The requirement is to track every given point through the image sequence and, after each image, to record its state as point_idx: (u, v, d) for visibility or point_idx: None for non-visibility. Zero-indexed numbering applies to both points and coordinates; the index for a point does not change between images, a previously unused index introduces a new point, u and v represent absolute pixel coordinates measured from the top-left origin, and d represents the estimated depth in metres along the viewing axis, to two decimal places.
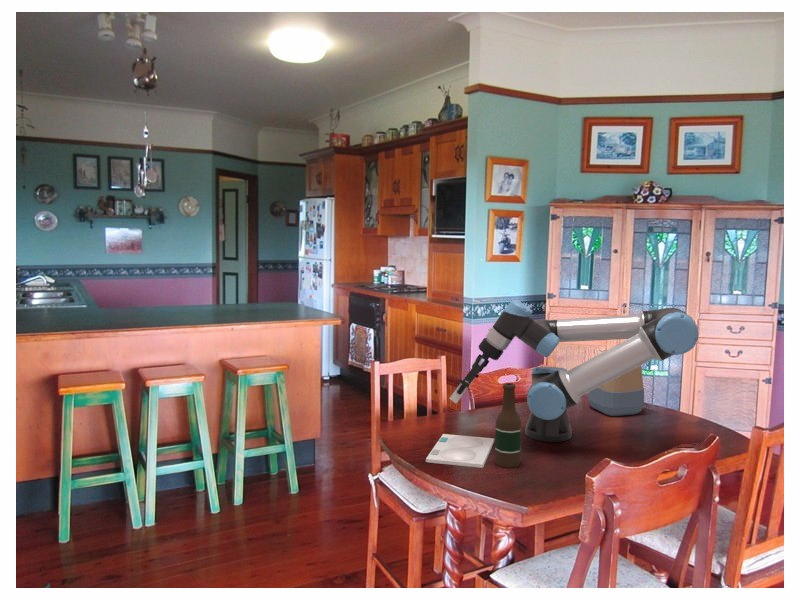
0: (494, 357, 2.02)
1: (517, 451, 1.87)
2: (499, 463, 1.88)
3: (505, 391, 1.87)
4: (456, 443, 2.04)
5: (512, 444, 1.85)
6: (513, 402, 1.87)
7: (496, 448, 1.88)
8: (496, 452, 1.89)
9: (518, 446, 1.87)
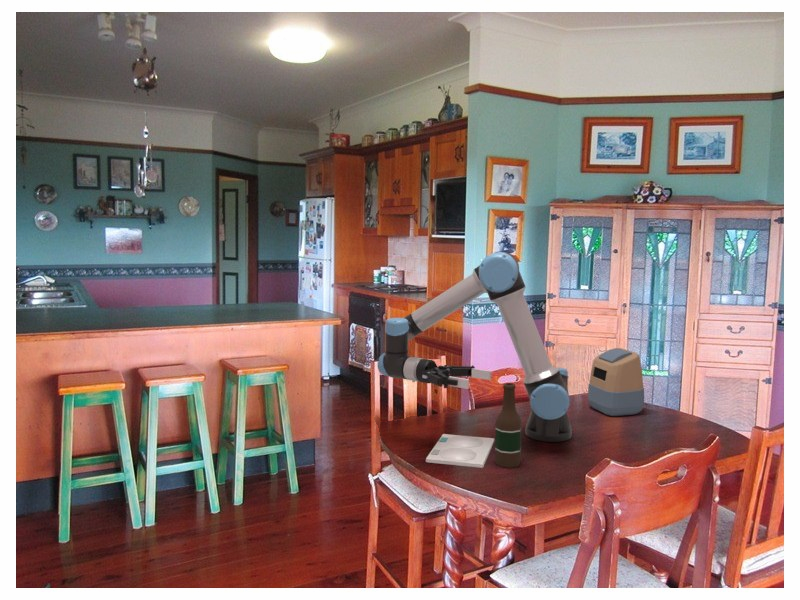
0: (423, 365, 2.01)
1: (517, 451, 1.87)
2: (499, 463, 1.88)
3: (505, 391, 1.87)
4: (456, 443, 2.04)
5: (512, 444, 1.85)
6: (513, 402, 1.87)
7: (496, 448, 1.88)
8: (496, 452, 1.89)
9: (518, 446, 1.87)
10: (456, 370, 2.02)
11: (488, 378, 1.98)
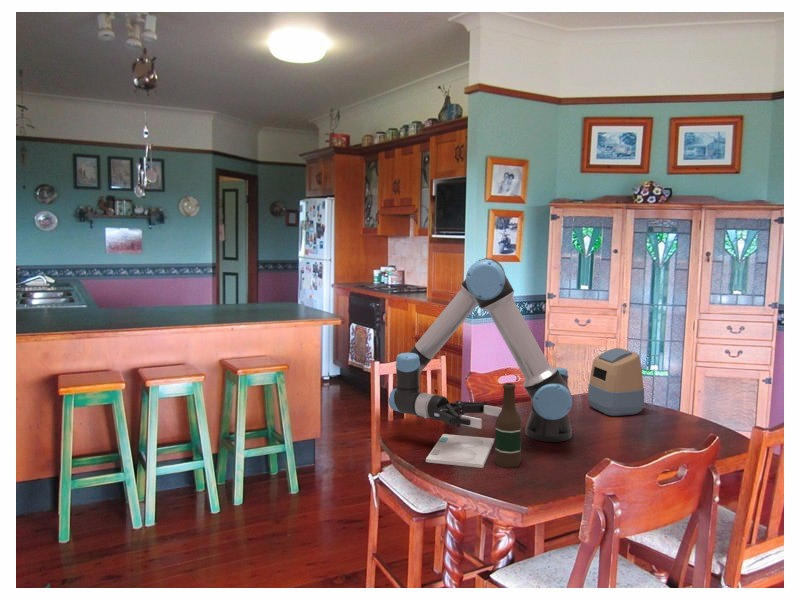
0: (435, 402, 1.99)
1: (517, 451, 1.87)
2: (499, 463, 1.88)
3: (505, 391, 1.87)
4: (456, 443, 2.04)
5: (512, 444, 1.85)
6: (513, 402, 1.87)
7: (496, 448, 1.88)
8: (496, 452, 1.89)
9: (518, 446, 1.87)
10: (468, 407, 2.00)
11: None
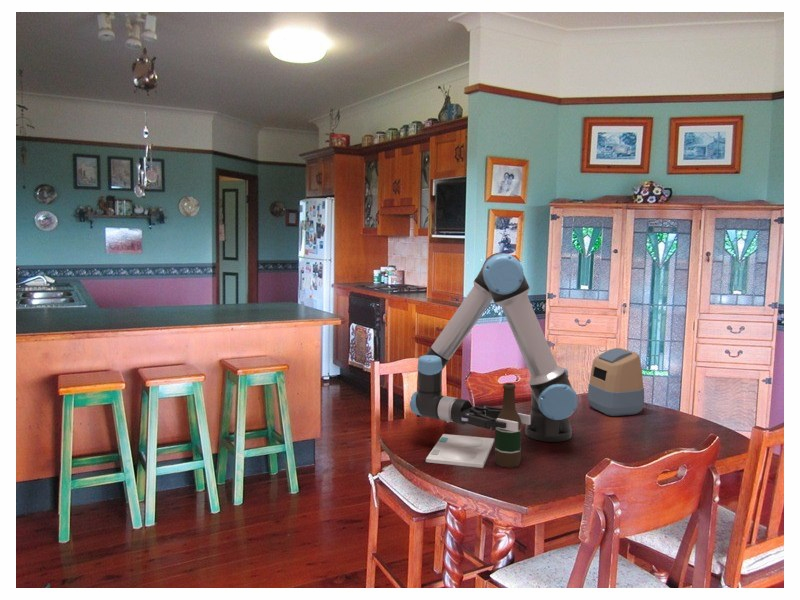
0: (459, 406, 1.95)
1: (517, 451, 1.87)
2: (499, 463, 1.88)
3: (505, 391, 1.87)
4: (456, 443, 2.04)
5: (512, 444, 1.85)
6: (513, 402, 1.87)
7: (496, 448, 1.88)
8: (496, 452, 1.89)
9: (518, 446, 1.87)
10: (492, 412, 1.94)
11: (527, 423, 1.89)
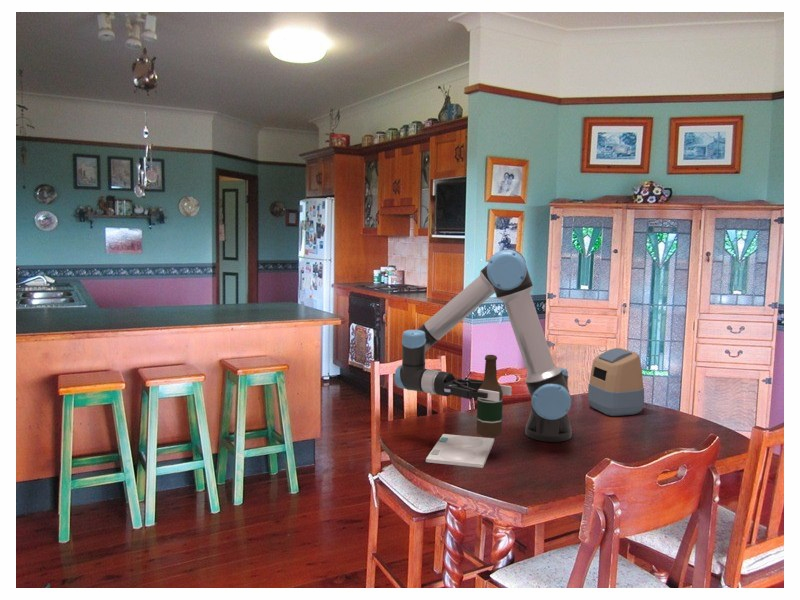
0: (442, 378, 1.99)
1: (499, 421, 1.91)
2: (481, 433, 1.92)
3: (487, 362, 1.91)
4: (456, 443, 2.04)
5: (493, 414, 1.90)
6: (495, 373, 1.91)
7: (478, 418, 1.93)
8: (478, 422, 1.93)
9: (499, 416, 1.91)
10: (475, 384, 1.99)
11: (508, 394, 1.94)
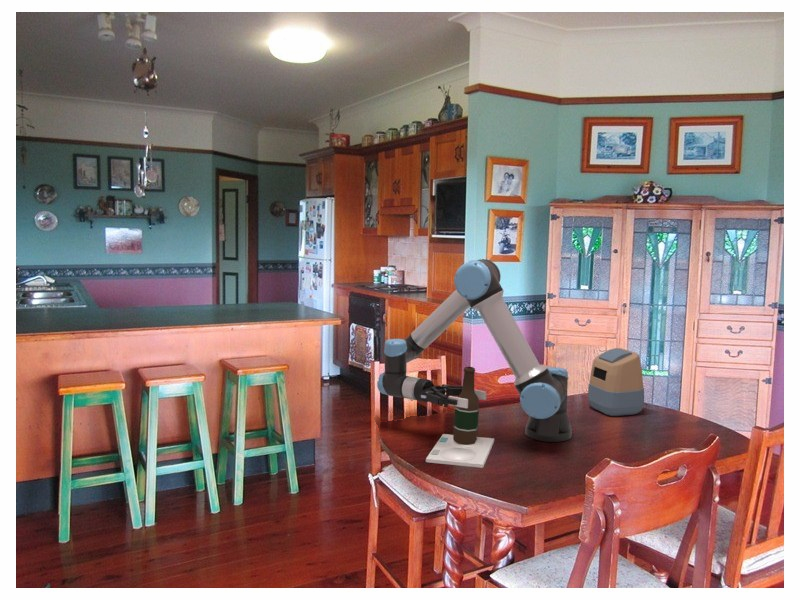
0: (421, 385, 2.11)
1: (474, 429, 2.02)
2: (456, 440, 2.04)
3: (465, 374, 2.02)
4: (456, 443, 2.04)
5: (469, 423, 2.01)
6: (472, 384, 2.02)
7: (455, 426, 2.04)
8: (454, 430, 2.04)
9: (475, 425, 2.02)
10: (452, 390, 2.11)
11: (483, 398, 2.07)
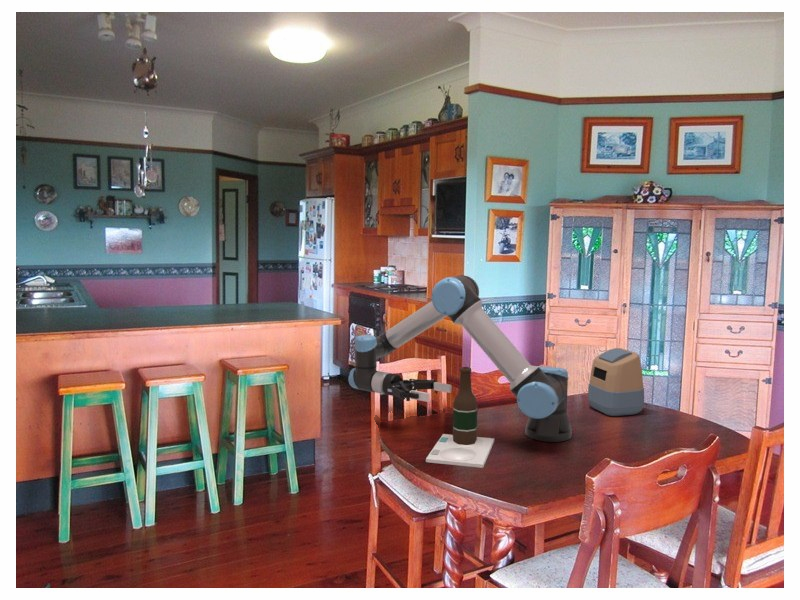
0: (389, 379, 2.18)
1: (473, 429, 2.03)
2: (456, 441, 2.04)
3: (462, 374, 2.03)
4: (456, 443, 2.04)
5: (467, 423, 2.01)
6: (469, 384, 2.03)
7: (454, 427, 2.04)
8: (454, 431, 2.05)
9: (474, 425, 2.02)
10: (420, 383, 2.19)
11: (448, 391, 2.15)
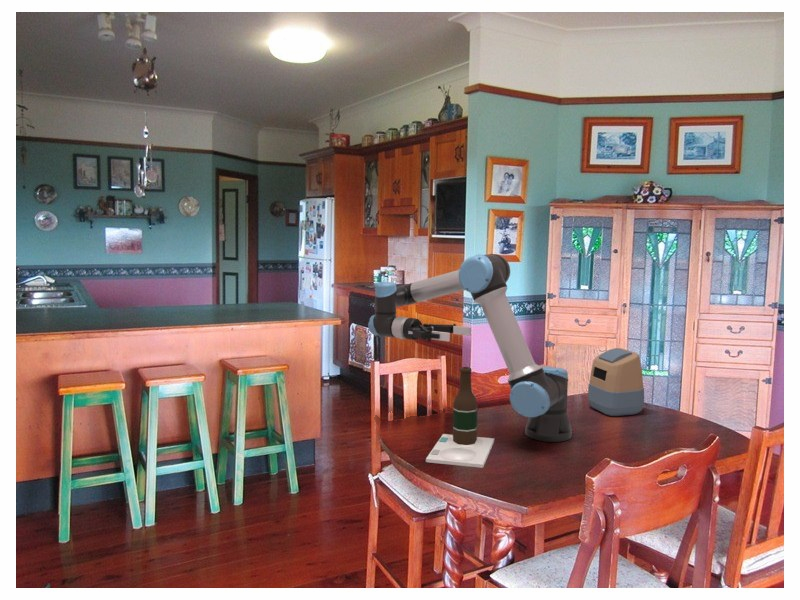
0: (409, 323, 2.21)
1: (473, 429, 2.03)
2: (456, 441, 2.04)
3: (462, 374, 2.03)
4: (456, 443, 2.04)
5: (467, 423, 2.01)
6: (469, 384, 2.03)
7: (454, 427, 2.04)
8: (454, 431, 2.05)
9: (474, 425, 2.02)
10: (440, 327, 2.23)
11: (468, 334, 2.19)
